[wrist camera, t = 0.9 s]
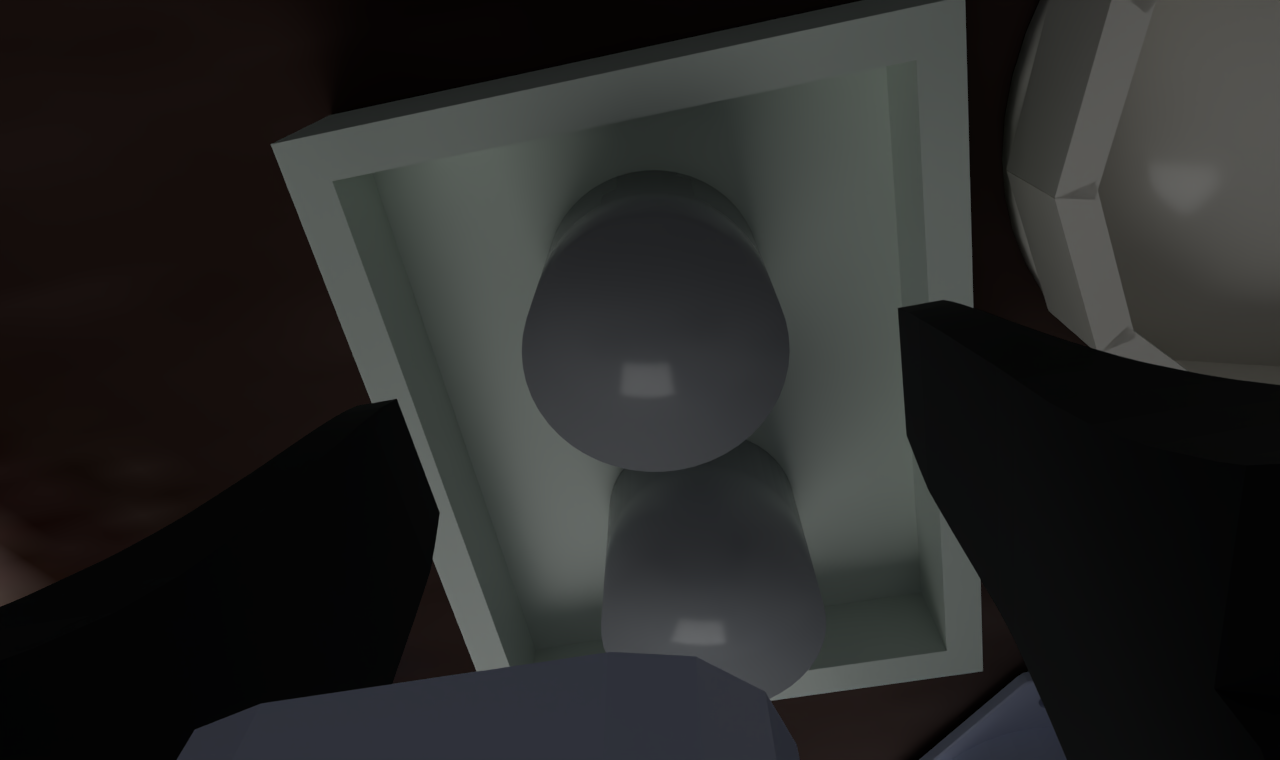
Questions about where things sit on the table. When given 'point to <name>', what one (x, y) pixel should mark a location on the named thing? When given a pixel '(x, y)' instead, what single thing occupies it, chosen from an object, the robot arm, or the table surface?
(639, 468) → the pebble
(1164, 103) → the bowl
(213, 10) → the table surface
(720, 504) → the pebble
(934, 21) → the parts tray
